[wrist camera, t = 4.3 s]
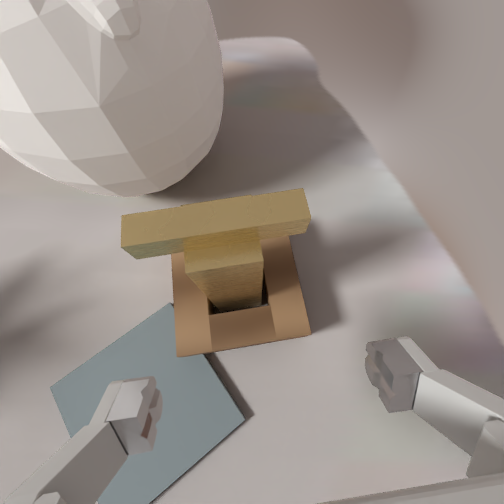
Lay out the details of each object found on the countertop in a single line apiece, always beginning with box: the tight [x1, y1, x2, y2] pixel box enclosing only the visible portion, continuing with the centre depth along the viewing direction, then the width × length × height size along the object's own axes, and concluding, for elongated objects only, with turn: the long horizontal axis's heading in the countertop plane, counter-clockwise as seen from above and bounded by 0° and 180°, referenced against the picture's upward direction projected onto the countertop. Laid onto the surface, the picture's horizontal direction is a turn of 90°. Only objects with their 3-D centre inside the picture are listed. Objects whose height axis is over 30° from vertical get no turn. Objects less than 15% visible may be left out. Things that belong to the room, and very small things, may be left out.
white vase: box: [0, 0, 224, 197], centre depth 18 cm, size 19×18×25 cm
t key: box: [121, 188, 311, 312], centre depth 17 cm, size 4×8×14 cm, turn 99°
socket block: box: [171, 236, 311, 357], centre depth 22 cm, size 10×10×3 cm
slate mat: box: [50, 303, 245, 504], centre depth 20 cm, size 11×11×1 cm
